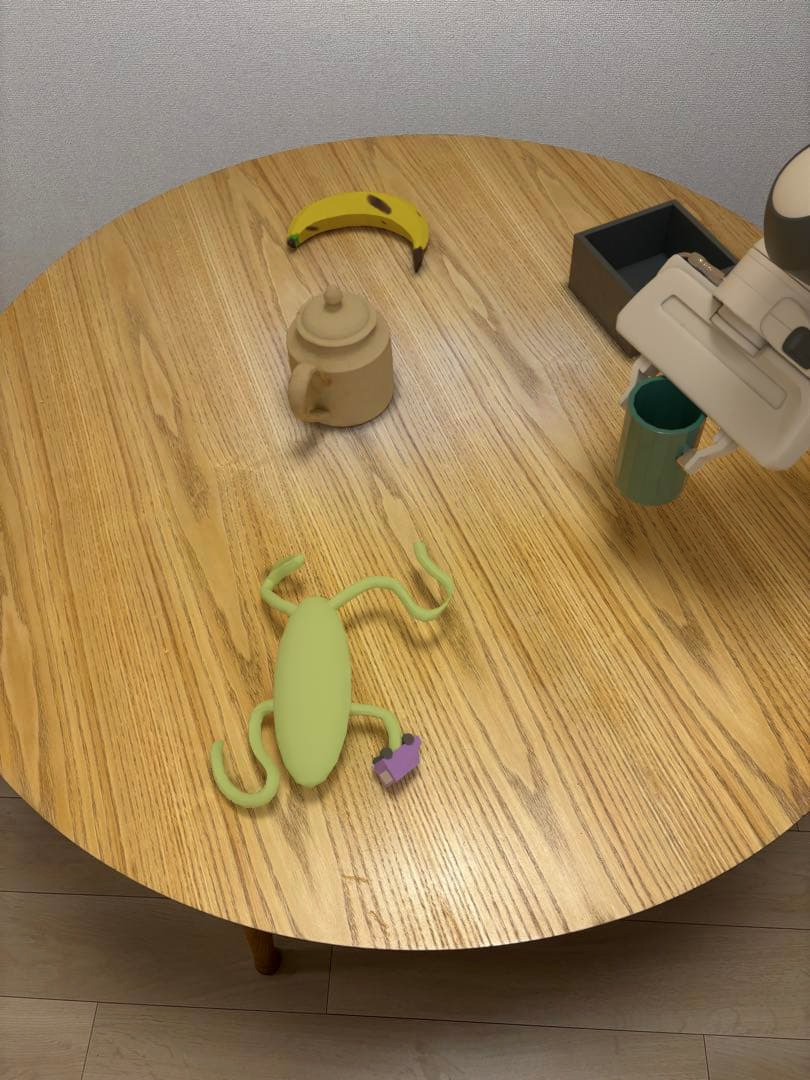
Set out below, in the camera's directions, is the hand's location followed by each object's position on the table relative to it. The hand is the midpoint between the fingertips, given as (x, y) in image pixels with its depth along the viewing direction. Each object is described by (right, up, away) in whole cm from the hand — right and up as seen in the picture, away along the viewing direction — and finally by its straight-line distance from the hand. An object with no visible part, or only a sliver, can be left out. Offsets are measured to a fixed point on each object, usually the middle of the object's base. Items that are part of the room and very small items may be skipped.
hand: (654, 439), depth 87 cm
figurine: (-28, -21, +4) cm, 35 cm away
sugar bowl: (-28, +6, +24) cm, 37 cm away
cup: (+1, -3, +5) cm, 6 cm away
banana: (-27, +28, +39) cm, 55 cm away
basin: (+7, +19, +31) cm, 37 cm away
